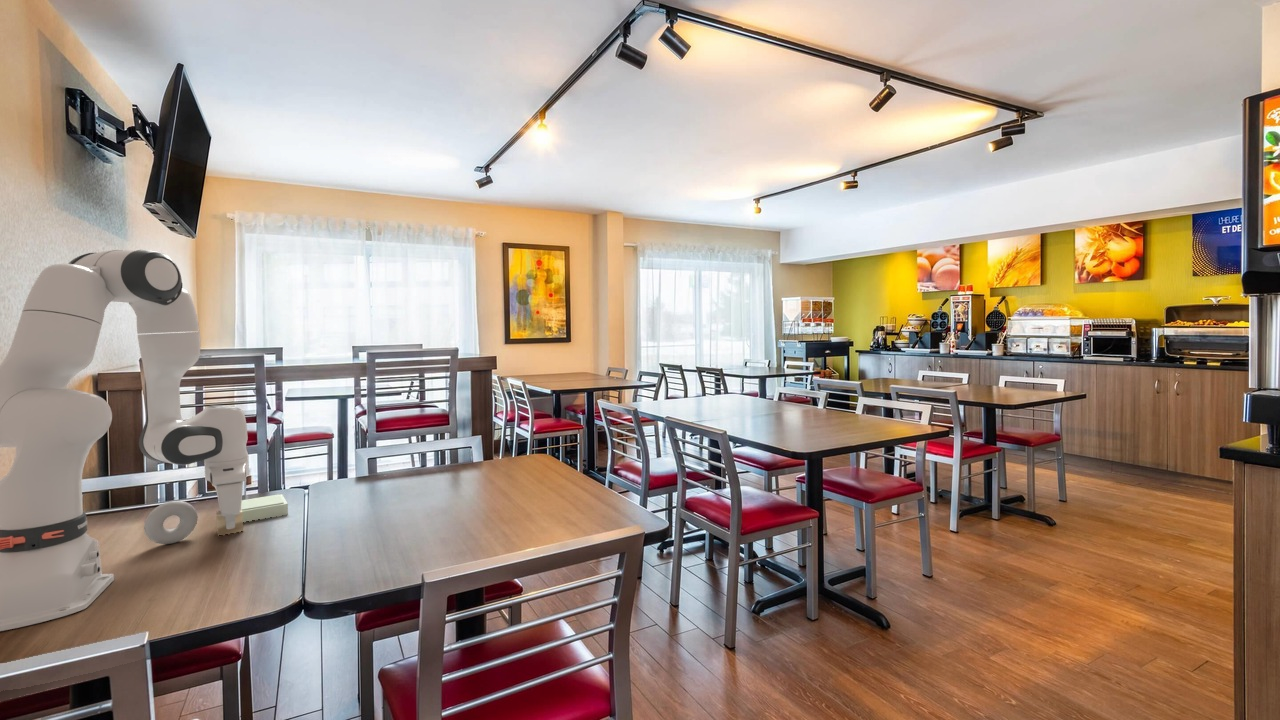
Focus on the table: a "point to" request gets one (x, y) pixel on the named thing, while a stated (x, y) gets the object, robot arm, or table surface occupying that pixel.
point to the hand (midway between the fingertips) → (229, 524)
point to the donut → (160, 513)
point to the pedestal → (264, 507)
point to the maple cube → (222, 524)
